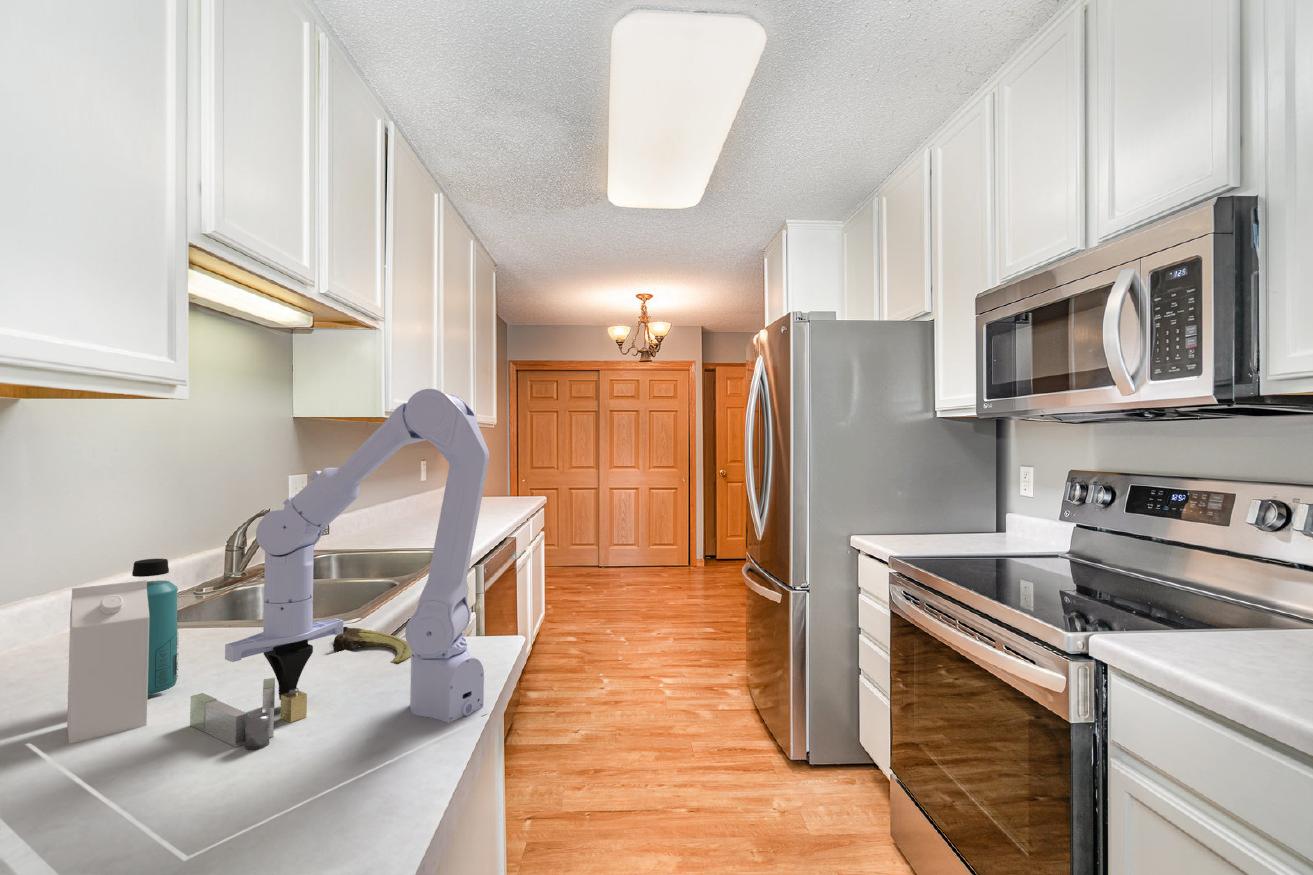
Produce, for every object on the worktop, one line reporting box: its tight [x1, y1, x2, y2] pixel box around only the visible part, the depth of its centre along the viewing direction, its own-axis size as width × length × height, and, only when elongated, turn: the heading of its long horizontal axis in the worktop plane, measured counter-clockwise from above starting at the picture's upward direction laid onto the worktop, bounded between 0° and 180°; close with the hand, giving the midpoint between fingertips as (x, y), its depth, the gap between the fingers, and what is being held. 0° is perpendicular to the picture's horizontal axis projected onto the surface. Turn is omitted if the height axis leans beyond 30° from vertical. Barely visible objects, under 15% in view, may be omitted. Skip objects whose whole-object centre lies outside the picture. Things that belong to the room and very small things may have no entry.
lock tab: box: [279, 687, 308, 723], centre depth 81 cm, size 2×2×4 cm
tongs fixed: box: [189, 692, 270, 751], centre depth 76 cm, size 14×3×4 cm, turn 59°
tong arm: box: [261, 677, 276, 738], centre depth 80 cm, size 11×1×4 cm, turn 31°
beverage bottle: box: [131, 558, 180, 696], centre depth 91 cm, size 6×7×20 cm
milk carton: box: [66, 579, 149, 744], centre depth 79 cm, size 7×7×19 cm
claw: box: [332, 626, 411, 664], centre depth 114 cm, size 20×10×3 cm, turn 65°
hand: (287, 700), depth 84 cm, fingers closed
